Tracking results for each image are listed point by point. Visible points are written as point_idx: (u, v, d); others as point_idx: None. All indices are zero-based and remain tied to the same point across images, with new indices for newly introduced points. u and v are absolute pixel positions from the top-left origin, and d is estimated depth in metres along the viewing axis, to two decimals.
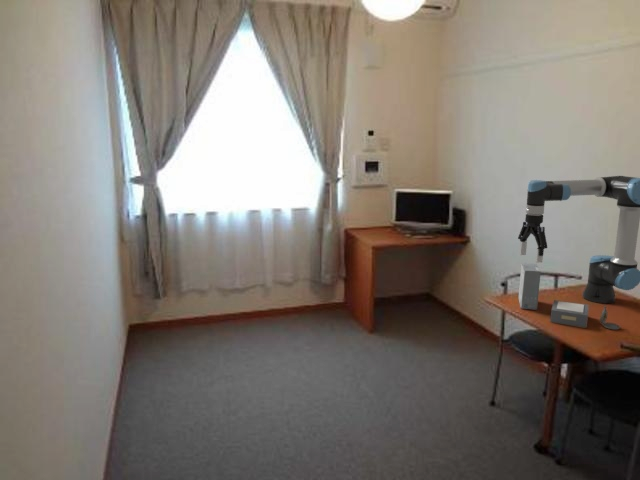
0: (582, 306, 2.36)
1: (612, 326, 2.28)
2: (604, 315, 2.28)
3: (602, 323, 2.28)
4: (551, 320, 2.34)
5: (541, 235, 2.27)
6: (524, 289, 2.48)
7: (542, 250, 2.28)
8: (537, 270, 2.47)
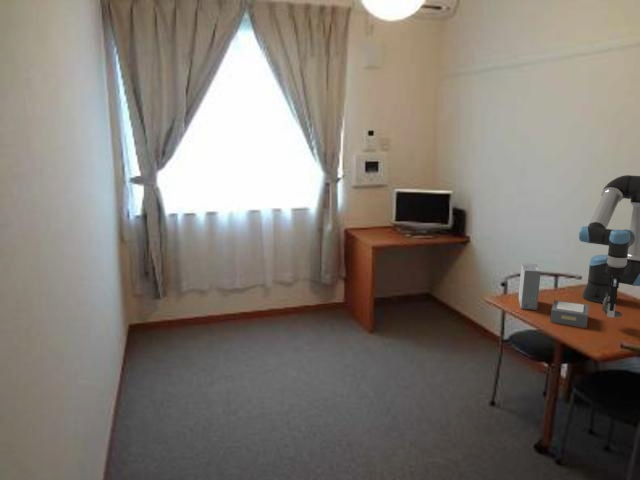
0: (582, 306, 2.36)
1: None
2: (606, 303, 2.27)
3: (604, 311, 2.27)
4: (551, 320, 2.34)
5: (612, 290, 2.19)
6: (524, 289, 2.48)
7: (612, 305, 2.21)
8: (537, 270, 2.47)
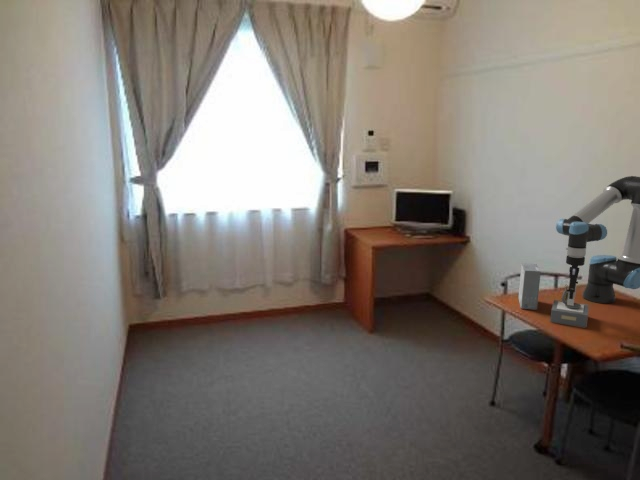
0: (582, 306, 2.36)
1: (574, 305, 2.35)
2: (566, 295, 2.36)
3: (564, 302, 2.36)
4: (551, 320, 2.34)
5: (571, 278, 2.26)
6: (524, 289, 2.48)
7: (571, 293, 2.27)
8: (537, 270, 2.47)
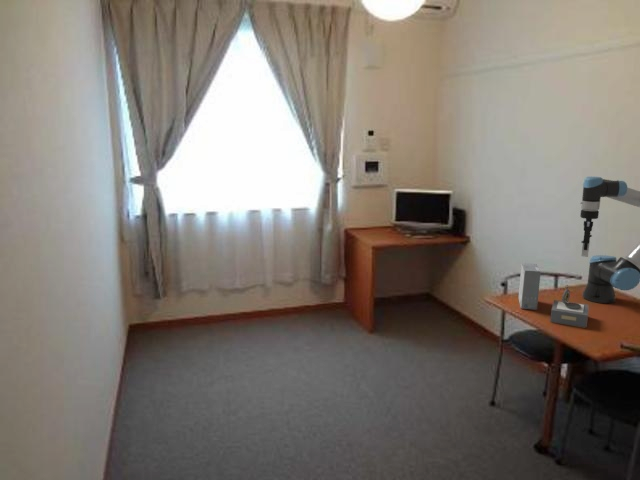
0: (582, 306, 2.36)
1: (574, 306, 2.35)
2: (566, 295, 2.36)
3: (564, 303, 2.35)
4: (551, 320, 2.34)
5: (586, 229, 2.34)
6: (524, 289, 2.48)
7: (586, 244, 2.35)
8: (537, 270, 2.47)
